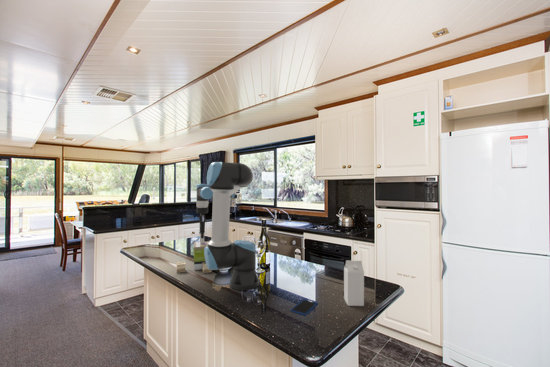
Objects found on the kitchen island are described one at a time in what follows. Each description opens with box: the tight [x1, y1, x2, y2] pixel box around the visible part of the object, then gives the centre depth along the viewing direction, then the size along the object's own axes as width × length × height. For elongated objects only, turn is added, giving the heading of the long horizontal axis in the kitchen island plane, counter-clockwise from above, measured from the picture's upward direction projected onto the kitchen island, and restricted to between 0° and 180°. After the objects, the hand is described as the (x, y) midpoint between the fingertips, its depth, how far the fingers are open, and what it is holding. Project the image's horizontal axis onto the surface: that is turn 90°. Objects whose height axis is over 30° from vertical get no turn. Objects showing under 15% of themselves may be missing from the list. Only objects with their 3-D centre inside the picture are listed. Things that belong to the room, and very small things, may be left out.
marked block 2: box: [201, 262, 213, 274], centre depth 159 cm, size 5×5×5 cm
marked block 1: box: [176, 261, 186, 274], centre depth 159 cm, size 5×5×5 cm
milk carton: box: [343, 260, 365, 307], centre depth 117 cm, size 7×7×19 cm
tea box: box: [193, 240, 210, 271], centre depth 169 cm, size 15×10×15 cm
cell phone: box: [290, 298, 319, 316], centre depth 112 cm, size 7×14×1 cm, turn 148°
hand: (201, 242), depth 169 cm, fingers closed
